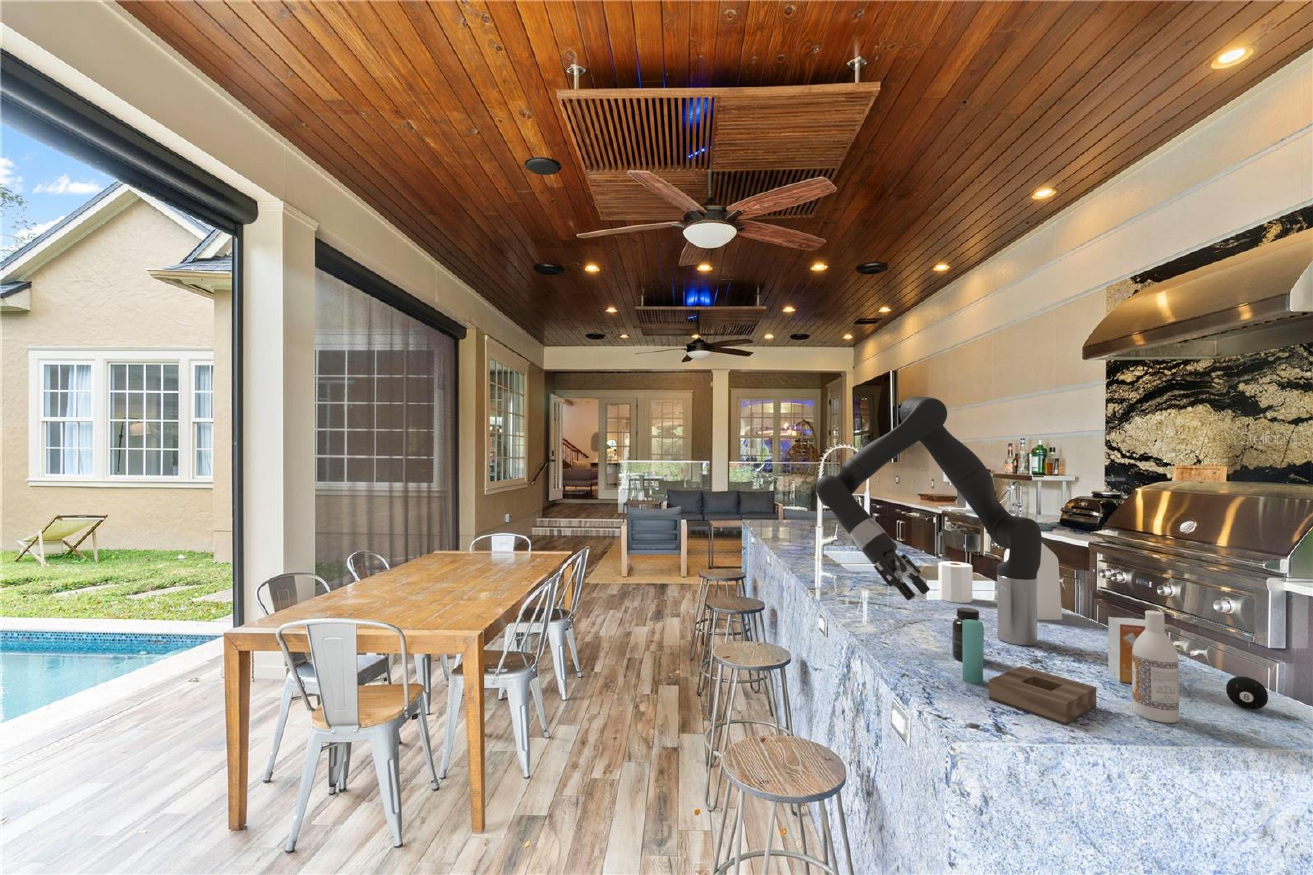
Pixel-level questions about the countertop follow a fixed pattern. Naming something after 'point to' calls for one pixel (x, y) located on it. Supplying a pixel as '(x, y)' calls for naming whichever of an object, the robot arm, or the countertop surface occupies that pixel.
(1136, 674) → the bath foam
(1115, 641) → the small box
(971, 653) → the pin
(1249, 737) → the countertop surface
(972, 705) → the countertop surface
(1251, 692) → the billiard ball
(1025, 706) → the bore block
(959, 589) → the toilet paper
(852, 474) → the robot arm
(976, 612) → the supplement bottle
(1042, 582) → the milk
